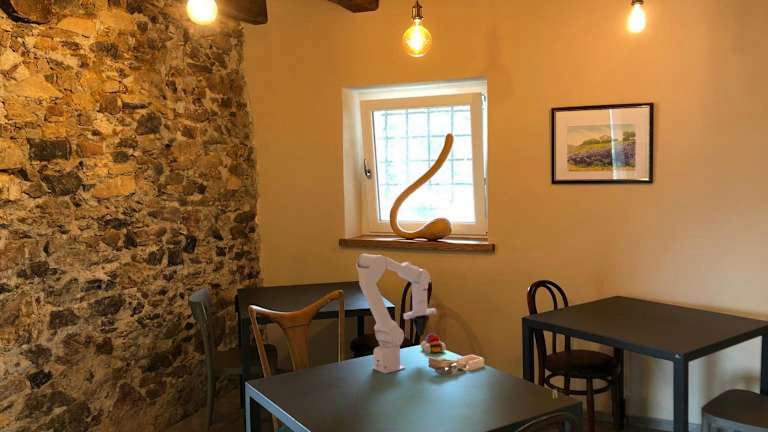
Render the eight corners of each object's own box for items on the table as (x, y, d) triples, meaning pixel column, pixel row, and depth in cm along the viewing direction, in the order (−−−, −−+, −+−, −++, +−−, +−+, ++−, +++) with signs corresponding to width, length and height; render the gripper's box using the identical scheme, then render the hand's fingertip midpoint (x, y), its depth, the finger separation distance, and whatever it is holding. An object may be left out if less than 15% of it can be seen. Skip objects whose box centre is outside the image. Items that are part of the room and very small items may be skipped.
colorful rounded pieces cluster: (427, 355, 243) (426, 337, 242) (419, 349, 252) (418, 331, 252) (447, 353, 245) (447, 335, 245) (438, 347, 254) (438, 329, 254)
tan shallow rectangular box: (465, 371, 222) (465, 363, 222) (453, 367, 227) (453, 359, 227) (484, 366, 227) (484, 358, 227) (472, 362, 233) (472, 354, 232)
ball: (473, 365, 226) (473, 357, 226) (467, 363, 229) (467, 355, 229) (479, 365, 228) (480, 356, 228) (473, 363, 231) (474, 354, 231)
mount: (450, 377, 216) (450, 366, 216) (434, 371, 223) (434, 360, 223) (461, 374, 219) (460, 363, 219) (445, 368, 226) (444, 358, 226)
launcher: (436, 370, 215) (438, 360, 215) (414, 362, 225) (416, 352, 225) (465, 372, 223) (467, 363, 223) (443, 364, 233) (444, 355, 233)
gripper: (411, 304, 230) (412, 340, 231) (441, 298, 238) (441, 333, 239) (399, 301, 235) (400, 336, 236) (429, 296, 244) (430, 330, 245)
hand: (420, 334), depth 238 cm, fingers closed
